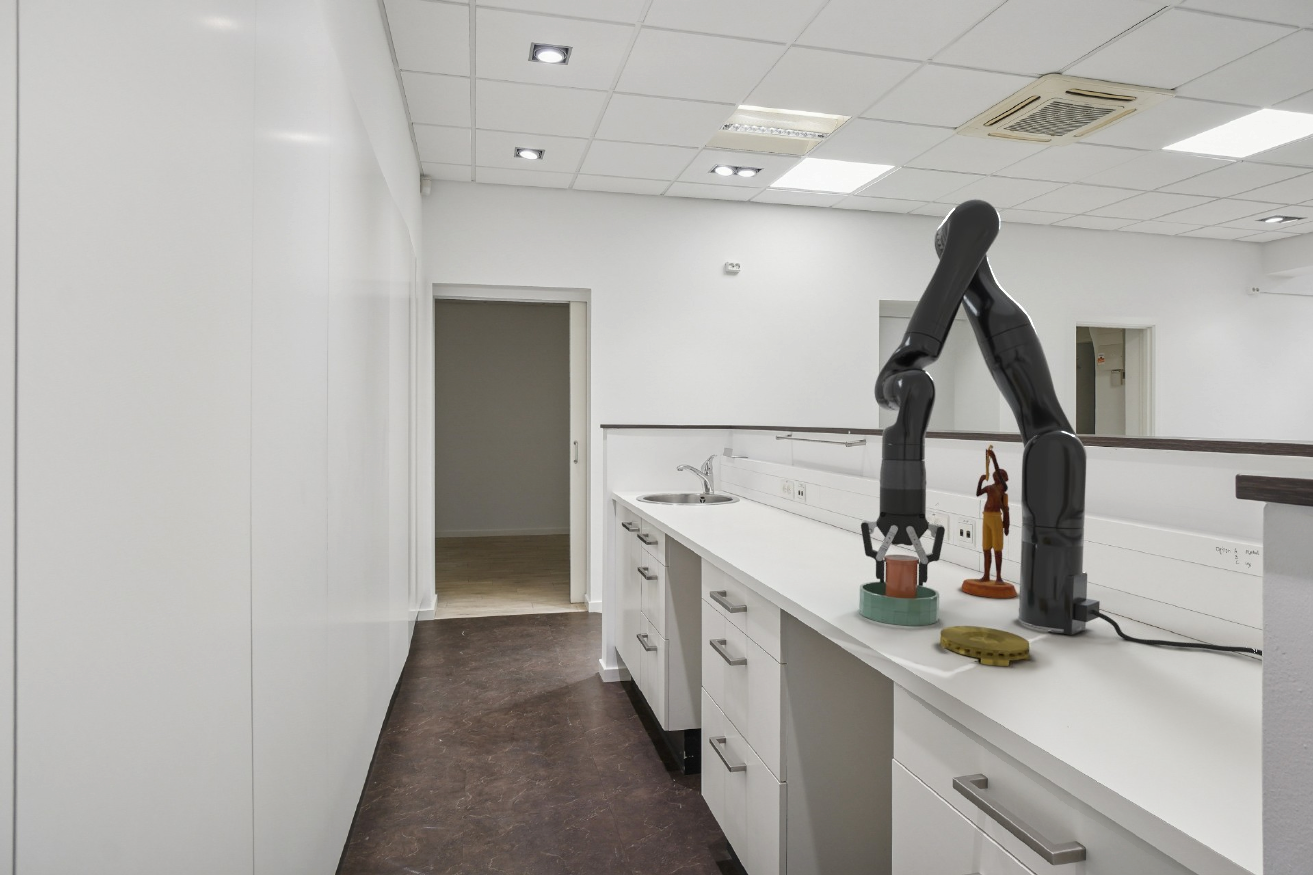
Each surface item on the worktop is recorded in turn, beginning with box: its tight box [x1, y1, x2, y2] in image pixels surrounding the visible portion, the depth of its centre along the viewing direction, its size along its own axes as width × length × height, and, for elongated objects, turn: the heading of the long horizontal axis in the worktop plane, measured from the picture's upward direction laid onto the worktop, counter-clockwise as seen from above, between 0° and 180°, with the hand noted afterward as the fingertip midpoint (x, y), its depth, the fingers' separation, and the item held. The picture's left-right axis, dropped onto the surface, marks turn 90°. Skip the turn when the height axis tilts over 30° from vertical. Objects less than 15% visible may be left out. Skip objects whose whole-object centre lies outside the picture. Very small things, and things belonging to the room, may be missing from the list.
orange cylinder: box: [883, 554, 920, 599], centre depth 123 cm, size 6×6×7 cm
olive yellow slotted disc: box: [939, 625, 1030, 667], centre depth 107 cm, size 12×12×2 cm
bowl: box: [858, 580, 940, 627], centre depth 124 cm, size 13×13×5 cm
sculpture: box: [960, 444, 1018, 599], centre depth 145 cm, size 10×10×30 cm
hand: (901, 582), depth 123 cm, fingers closed on orange cylinder, 5 cm apart
